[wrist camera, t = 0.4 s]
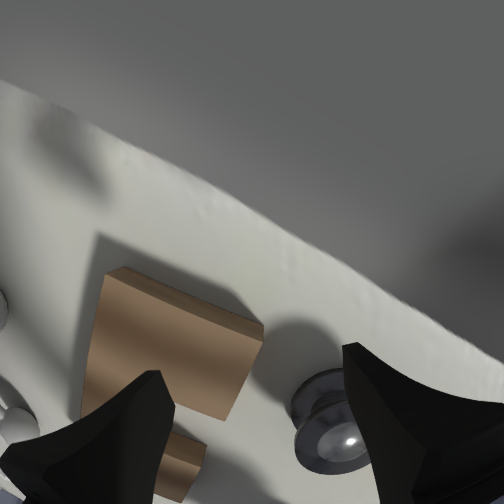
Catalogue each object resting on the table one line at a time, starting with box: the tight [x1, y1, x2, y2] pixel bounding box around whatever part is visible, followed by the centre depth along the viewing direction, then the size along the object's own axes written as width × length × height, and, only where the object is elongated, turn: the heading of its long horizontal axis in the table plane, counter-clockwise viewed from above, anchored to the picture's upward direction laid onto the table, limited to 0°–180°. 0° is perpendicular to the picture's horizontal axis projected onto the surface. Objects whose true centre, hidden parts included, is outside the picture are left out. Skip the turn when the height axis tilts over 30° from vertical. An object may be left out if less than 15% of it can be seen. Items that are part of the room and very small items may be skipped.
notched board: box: [80, 266, 264, 503], centre depth 21 cm, size 20×11×3 cm, turn 158°
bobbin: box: [291, 368, 371, 475], centre depth 19 cm, size 7×7×5 cm
